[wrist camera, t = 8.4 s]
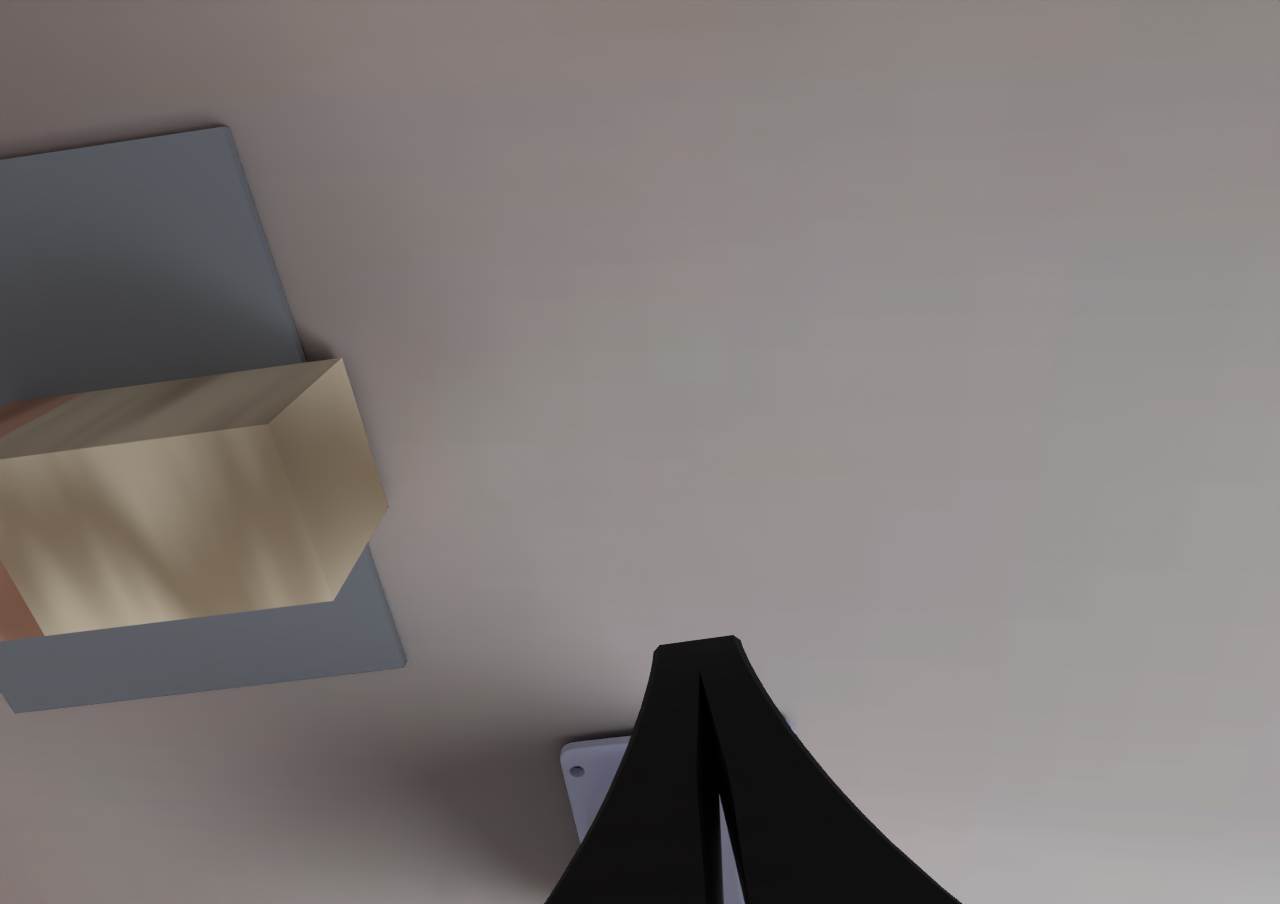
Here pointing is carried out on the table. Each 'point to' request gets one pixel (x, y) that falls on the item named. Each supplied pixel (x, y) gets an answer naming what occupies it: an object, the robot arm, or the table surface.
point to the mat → (150, 353)
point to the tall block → (182, 499)
